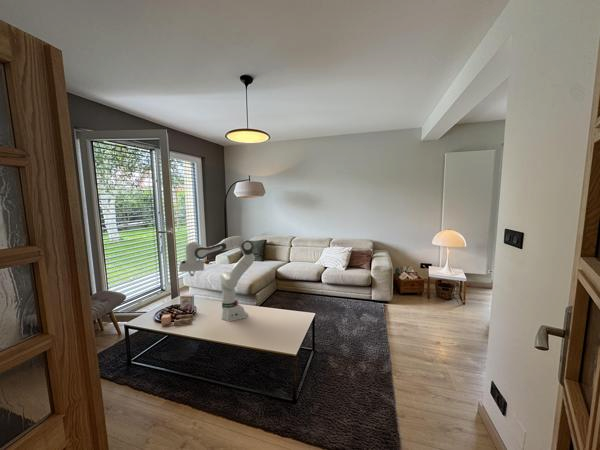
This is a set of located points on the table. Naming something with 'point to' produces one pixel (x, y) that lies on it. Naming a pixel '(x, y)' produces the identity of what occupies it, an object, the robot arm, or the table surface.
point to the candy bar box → (187, 302)
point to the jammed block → (166, 319)
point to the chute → (181, 320)
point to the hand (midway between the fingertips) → (192, 275)
